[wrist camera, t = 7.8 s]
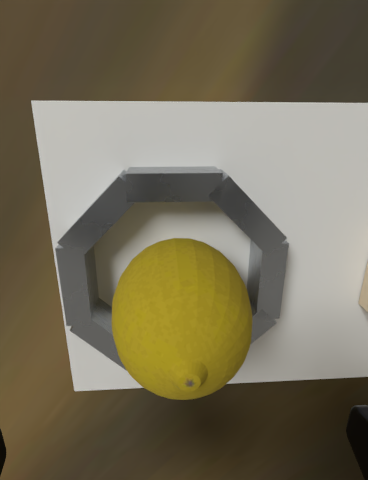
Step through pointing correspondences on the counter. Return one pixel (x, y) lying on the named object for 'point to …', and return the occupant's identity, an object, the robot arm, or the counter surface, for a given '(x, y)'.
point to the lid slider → (364, 291)
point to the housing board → (218, 223)
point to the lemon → (181, 319)
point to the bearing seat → (166, 190)
